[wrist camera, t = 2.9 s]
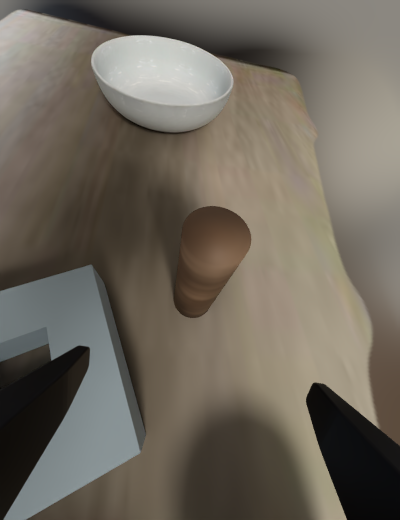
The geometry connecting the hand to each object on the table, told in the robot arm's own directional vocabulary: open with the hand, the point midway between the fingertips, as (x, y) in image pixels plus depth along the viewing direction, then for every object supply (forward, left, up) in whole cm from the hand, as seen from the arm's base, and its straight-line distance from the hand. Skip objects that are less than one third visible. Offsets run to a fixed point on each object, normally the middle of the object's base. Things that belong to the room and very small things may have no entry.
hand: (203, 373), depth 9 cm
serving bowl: (+39, -13, -13) cm, 43 cm away
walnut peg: (+6, -4, -13) cm, 15 cm away
